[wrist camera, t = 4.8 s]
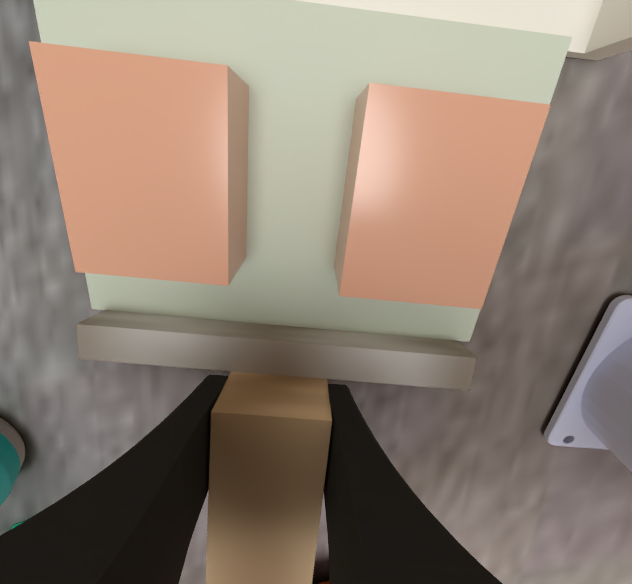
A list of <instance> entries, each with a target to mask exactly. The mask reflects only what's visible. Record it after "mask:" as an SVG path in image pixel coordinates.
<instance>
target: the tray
mask: <svg viewBox="0 0 632 584" xmlns="http://www.w3.org/2000/svg"><path fill="white" fill-rule="evenodd" d="M296 1H304V2H311V3H319V4H326V5H334V6H342V7H349V8H357V9H364V10H372V11H380V12H387V13H395V14H402V15H410V16H418V17H425V18H433V19H440V20H448V21H456V22H463V23H471V24H478V25H486V26H494V27H501V28H509V29H517V30H524V31H532V32H539V33H547V34H555V35H562V36H570V37H572V40H571V43H570V46H569V49H568V51H567V54H566V57H571V58H579V59H587V60H595V61H598V60H601V59H604V58H608V57H611V56H614V55H617V54H621V53H624V52H627V51H630V50H632V0H296Z"/></svg>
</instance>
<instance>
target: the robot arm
mask: <svg viewBox="0 0 632 584" xmlns="http://www.w3.org/2000/svg"><path fill="white" fill-rule="evenodd" d="M227 379H228V376H220V375H209V376H207V377H206V378H205V379H204V380H203V381H202V382H201V383H200V385H199V386H198V387H197V388H196V389H195V390H194V391H193V392H192V393H191V394H190V395H189V396H188V397H187V398H186V399H185V400H184V401H183V402H182V403H181V404H180V405H179V406H178V407H177V408H176V409H175V410H174V411H173V412H172V413H171V414H170V415H169V416H168V417H167V418H165V419H164V420H163V421H162V422H161V423H160V424H159V425H158V426H157V427H156V428H154V429H153V430H152V431H151V432H150V433H149V434H148V435H146V436H145V437H144V438H143V439H142V440H141V441H140V442H138V443H137V444H136V445H135V446H134V447H132V448H131V449H130V450H129V451H127V452H126V453H125V454H124V455H122V456H121V457H120V458H119V459H117V460H116V461H115V462H113V463H112V464H111V465H109V466H108V467H107V468H105V469H104V470H103V471H101V472H100V473H98V474H97V475H96V476H94V477H93V478H91V479H90V480H88V481H87V482H86V483H84V484H83V485H81V486H80V487H78V488H77V489H75V490H74V491H72V492H71V493H69V494H68V495H66V496H65V497H63V498H62V499H60V500H59V501H57V502H56V503H54V504H53V505H51V506H49V507H48V508H46V509H44V510H43V511H41V512H40V513H38V514H36V515H35V516H33V517H31V518H30V519H28V520H26V521H25V522H23V523H21V524H20V525H18V526H16V527H14V528H13V529H11V530H9V531H8V532H6V533H4V534H2V535H1V536H0V584H178V583H179V580H180V576H181V572H182V569H183V565H184V562H185V558H186V554H187V551H188V547H189V543H190V540H191V537H192V534H193V531H194V528H195V525H196V522H197V520H198V517H199V514H200V512H201V509H202V506H203V503H204V501H205V498H206V495H207V492H208V490H209V464H210V432H211V411H212V409H213V407H214V405H215V403H216V401H217V399H218V397H219V395H220V393H221V391H222V389H223V387H224V385H225V383H226V381H227ZM328 392H329V401H330V406H331V415H332V426H331V434H330V442H329V450H328V458H327V466H326V474H325V482H324V498H325V509H326V520H327V530H328V545H329V584H502V583H501V582H500V581H499V580H498V579H497V578H495V577H494V576H493V575H492V574H491V573H490V572H489V571H488V570H486V569H485V568H484V567H483V566H482V565H481V564H480V563H479V562H478V561H477V560H476V559H475V558H474V557H473V556H472V555H471V554H470V553H469V552H468V551H467V550H466V549H465V548H464V547H463V546H462V545H461V544H459V543H458V541H457V540H456V539H455V538H454V537H453V536H452V535H451V534H450V533H449V532H448V531H447V530H446V528H445V527H444V526H443V525H442V524H441V523H440V522H439V521H438V520H437V519H436V518H435V517H434V516H433V514H432V513H431V512H430V511H429V510H428V509H427V508H426V507H425V505H424V504H423V503H422V502H421V501H420V499H419V498H418V497H417V496H416V495H415V493H414V492H413V491H412V490H411V488H410V487H409V486H408V485H407V483H406V482H405V481H404V479H403V478H402V477H401V476H400V474H399V473H398V471H397V470H396V469H395V467H394V466H393V465H392V463H391V462H390V460H389V459H388V457H387V456H386V454H385V453H384V451H383V450H382V448H381V447H380V445H379V444H378V442H377V440H376V439H375V437H374V436H373V434H372V432H371V430H370V429H369V427H368V425H367V424H366V422H365V420H364V418H363V417H362V415H361V413H360V411H359V409H358V407H357V405H356V403H355V401H354V399H353V397H352V395H351V393H350V390H349V388H348V387H347V386H346V385H338V384H328ZM544 438H545V439H546V441H547V442H548V443H549V444H550V445H554V446H567V447H581V448H594V449H608V450H610V451H611V452H612V453H613V454H614V455H615V456H616V457H617V458H618V459H619V460H620V461H621V462H622V464H623V465H624V466H625V467H626V468H627V469H628V470H629V471H630V472H631V473H632V296H631V295H622V296H619V297H617V298H615V299H614V300H613V301H612V302H611V303H610V304H609V306H608V308H607V310H606V312H605V314H604V316H603V318H602V320H601V322H600V324H599V326H598V328H597V330H596V332H595V334H594V336H593V338H592V339H591V341H590V343H589V345H588V347H587V349H586V351H585V353H584V355H583V357H582V359H581V361H580V363H579V365H578V367H577V369H576V371H575V373H574V375H573V377H572V379H571V381H570V383H569V385H568V387H567V389H566V391H565V393H564V394H563V396H562V398H561V400H560V402H559V404H558V406H557V408H556V410H555V412H554V414H553V416H552V418H551V420H550V422H549V424H548V426H547V428H546V430H545V432H544Z"/></svg>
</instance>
